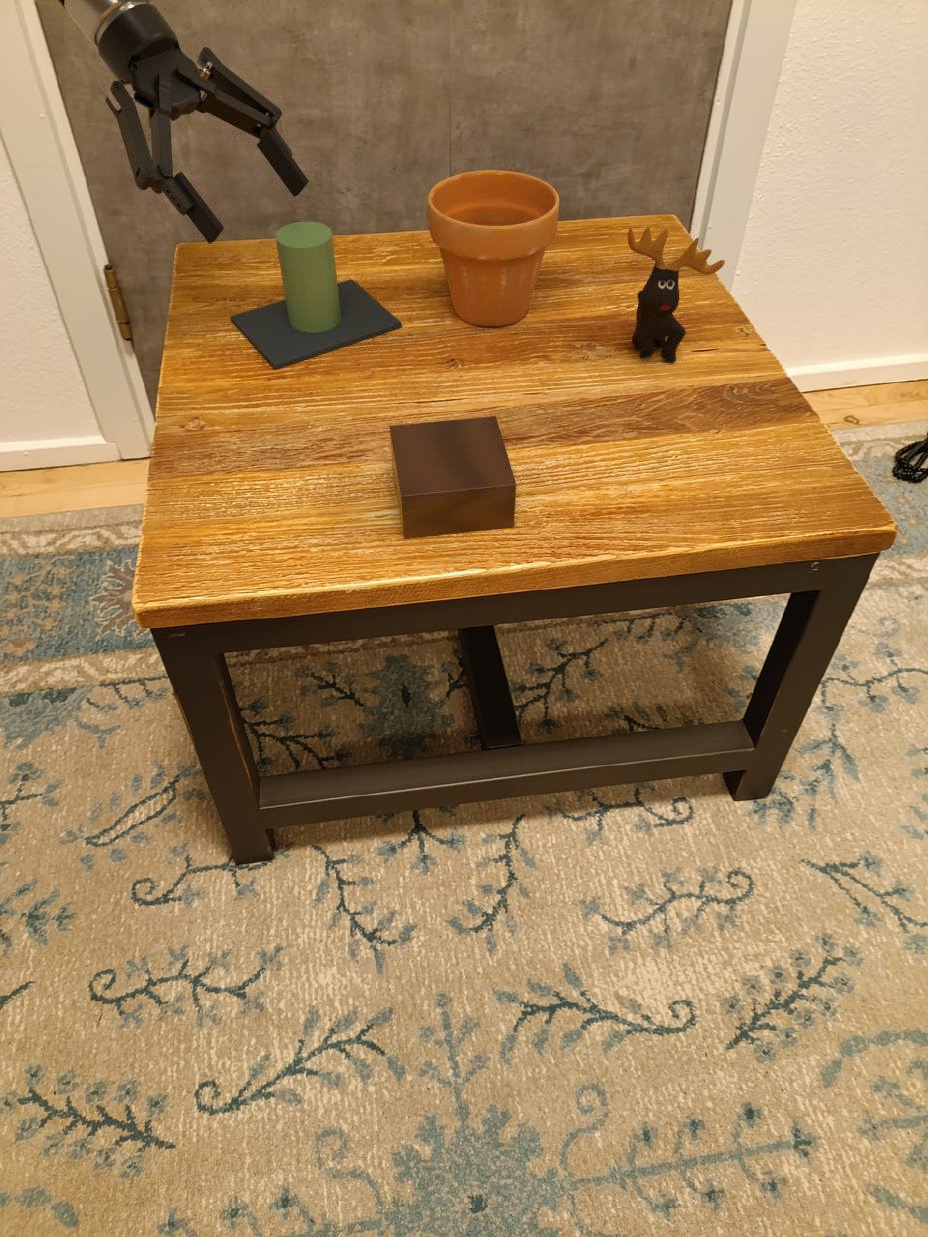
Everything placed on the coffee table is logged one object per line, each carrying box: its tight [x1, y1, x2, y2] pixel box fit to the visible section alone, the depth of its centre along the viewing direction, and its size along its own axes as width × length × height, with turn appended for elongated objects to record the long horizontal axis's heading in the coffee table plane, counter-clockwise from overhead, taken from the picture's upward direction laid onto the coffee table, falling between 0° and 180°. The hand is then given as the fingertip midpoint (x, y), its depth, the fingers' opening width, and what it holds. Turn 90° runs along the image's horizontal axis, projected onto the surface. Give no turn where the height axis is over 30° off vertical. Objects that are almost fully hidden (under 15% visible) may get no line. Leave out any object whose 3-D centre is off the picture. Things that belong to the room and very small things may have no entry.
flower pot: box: [427, 169, 561, 328], centre depth 101 cm, size 14×14×13 cm
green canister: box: [275, 220, 341, 333], centre depth 99 cm, size 6×6×10 cm
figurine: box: [627, 227, 726, 363], centre depth 94 cm, size 11×7×15 cm
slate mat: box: [229, 278, 402, 371], centre depth 103 cm, size 16×12×1 cm
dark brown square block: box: [389, 415, 517, 539], centre depth 82 cm, size 10×10×5 cm
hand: (261, 212), depth 97 cm, fingers open, 13 cm apart
